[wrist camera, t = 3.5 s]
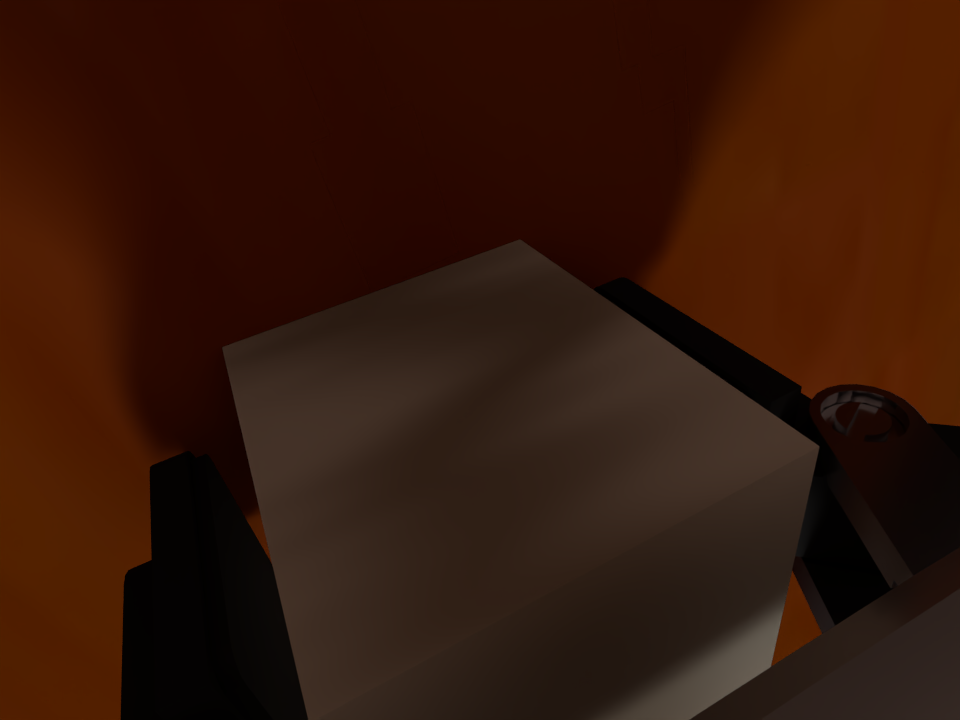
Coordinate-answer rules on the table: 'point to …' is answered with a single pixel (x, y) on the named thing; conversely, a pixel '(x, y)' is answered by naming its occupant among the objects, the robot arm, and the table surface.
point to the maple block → (514, 503)
